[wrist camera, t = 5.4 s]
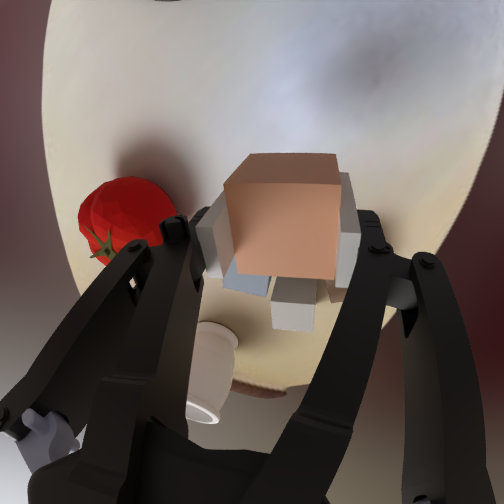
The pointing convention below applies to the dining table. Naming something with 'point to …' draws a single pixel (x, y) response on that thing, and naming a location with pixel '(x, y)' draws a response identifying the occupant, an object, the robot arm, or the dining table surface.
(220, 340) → the jar
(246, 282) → the slate cube
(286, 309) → the grey cube
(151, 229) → the tomato
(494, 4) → the dining table surface
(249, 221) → the terracotta cube
